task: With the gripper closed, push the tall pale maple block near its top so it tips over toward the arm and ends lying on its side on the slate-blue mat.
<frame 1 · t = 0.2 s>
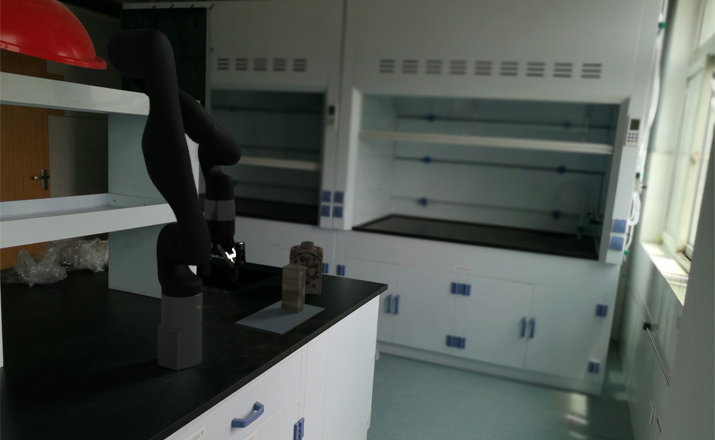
hand: (220, 278, 134), 17 cm above the counter, tool pointing down, fingers open, 8 cm apart
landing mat: (282, 317, 158), on the counter
maple block: (292, 309, 163), point 1 cm above the counter, touching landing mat
decorative jar: (304, 291, 187), on the counter
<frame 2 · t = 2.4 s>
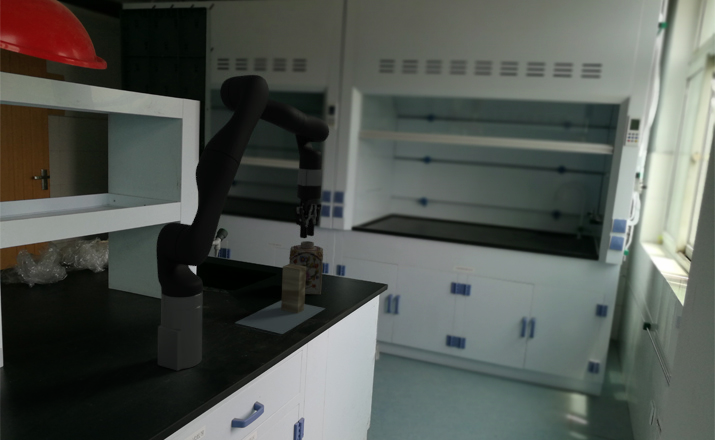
hand: (306, 236, 166), 23 cm above the counter, tool pointing down, fingers open, 4 cm apart
nothing on the counter moved.
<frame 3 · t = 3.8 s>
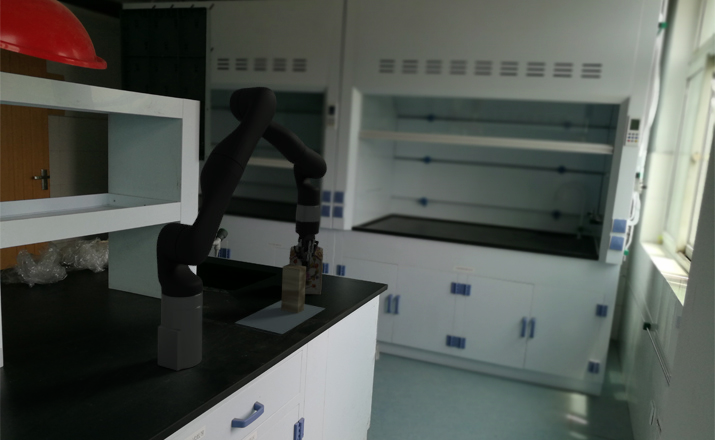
hand: (305, 271, 168), 12 cm above the counter, tool pointing down, fingers closed
nothing on the counter moved.
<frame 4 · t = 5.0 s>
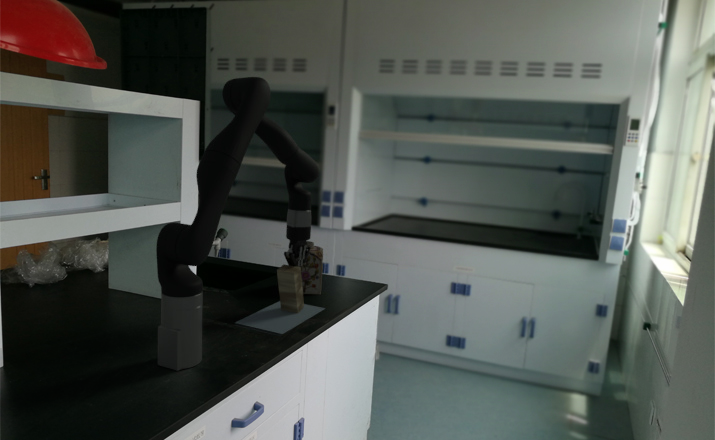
hand: (296, 278, 163), 11 cm above the counter, tool pointing down, fingers closed
maple block: (292, 308, 163), point 1 cm above the counter, tilted 14°, touching gripper, hand, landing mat
everything else where it was.
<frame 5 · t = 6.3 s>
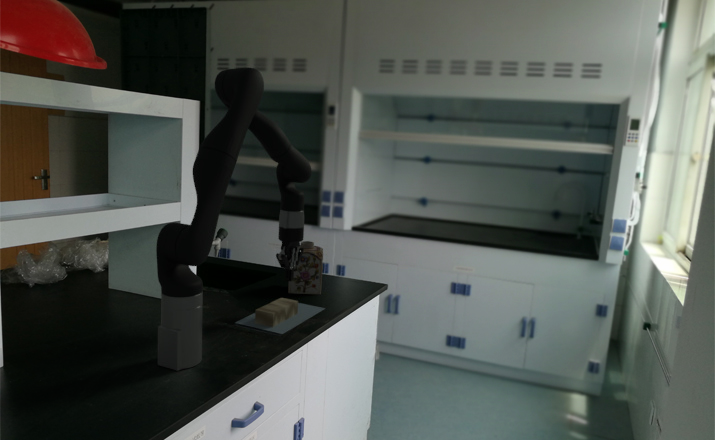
hand: (289, 280, 159), 11 cm above the counter, tool pointing down, fingers closed
maple block: (289, 305, 161), point 3 cm above the counter, tilted 90°, touching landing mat
everything else where it was.
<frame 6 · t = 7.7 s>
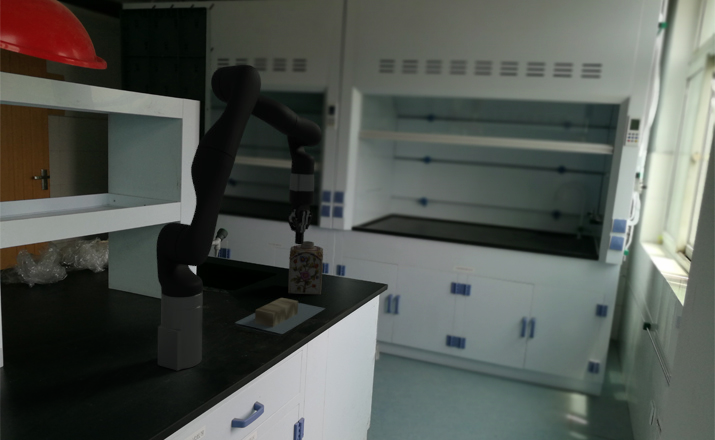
hand: (299, 243, 162), 22 cm above the counter, tool pointing down, fingers closed
nothing on the counter moved.
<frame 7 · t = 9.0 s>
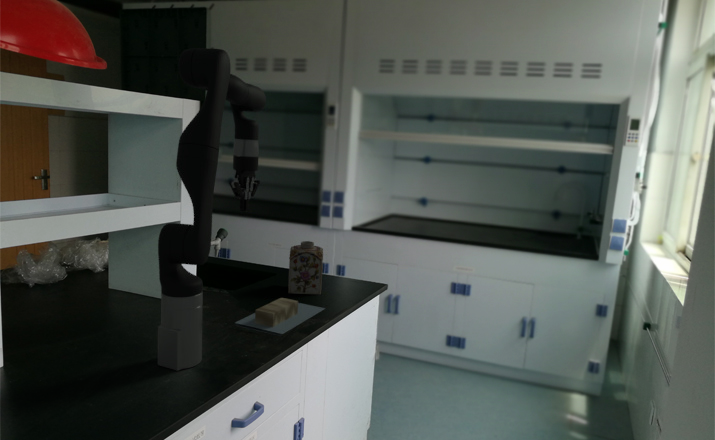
hand: (244, 211, 160), 31 cm above the counter, tool pointing down, fingers closed
nothing on the counter moved.
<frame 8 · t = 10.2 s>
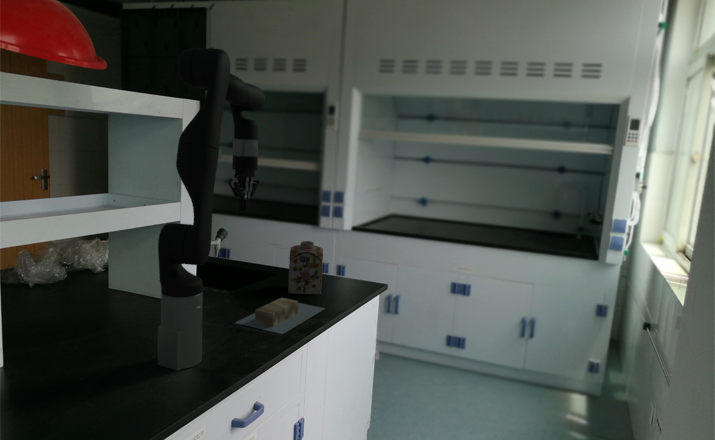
hand: (243, 210, 160), 31 cm above the counter, tool pointing down, fingers closed
nothing on the counter moved.
at the end: maple block tilted 90°; maple block inside the target area (0.4 cm from its centre), point 2.8 cm above the counter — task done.
